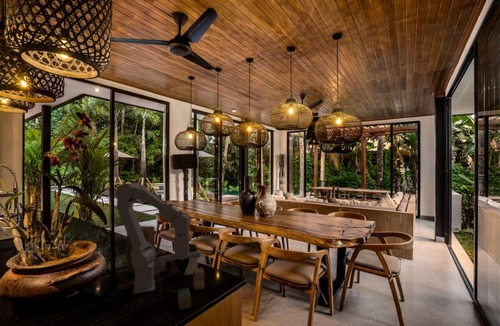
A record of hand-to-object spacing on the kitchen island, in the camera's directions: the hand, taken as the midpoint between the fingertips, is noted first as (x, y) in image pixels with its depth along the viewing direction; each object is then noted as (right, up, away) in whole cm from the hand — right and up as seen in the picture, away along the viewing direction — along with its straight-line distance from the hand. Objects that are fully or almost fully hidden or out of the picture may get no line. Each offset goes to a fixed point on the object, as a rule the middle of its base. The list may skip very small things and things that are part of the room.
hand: (181, 277), depth 103 cm
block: (-25, -6, +20) cm, 33 cm away
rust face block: (+6, -5, +2) cm, 9 cm away
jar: (-2, -6, +18) cm, 18 cm away
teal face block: (+2, -3, -7) cm, 8 cm away
